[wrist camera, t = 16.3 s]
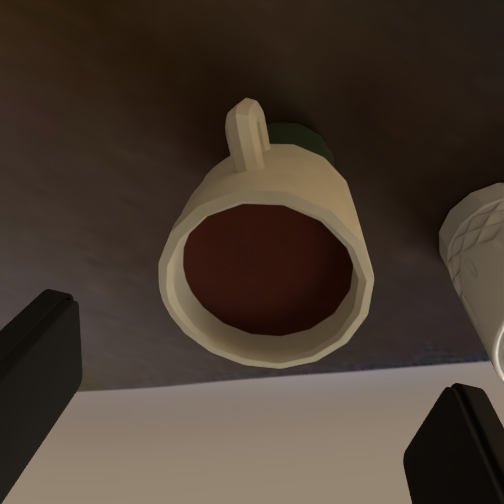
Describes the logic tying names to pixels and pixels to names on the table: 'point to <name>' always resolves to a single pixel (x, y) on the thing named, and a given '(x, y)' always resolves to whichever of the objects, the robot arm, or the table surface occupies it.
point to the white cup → (479, 264)
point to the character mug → (268, 249)
